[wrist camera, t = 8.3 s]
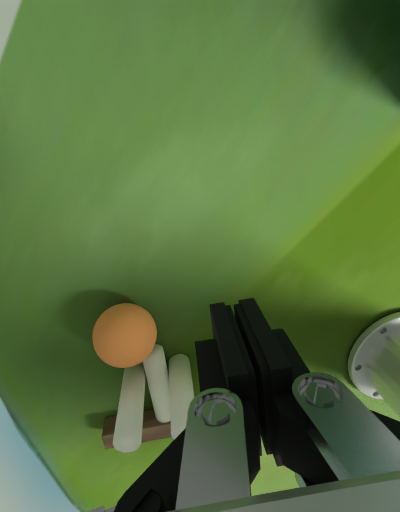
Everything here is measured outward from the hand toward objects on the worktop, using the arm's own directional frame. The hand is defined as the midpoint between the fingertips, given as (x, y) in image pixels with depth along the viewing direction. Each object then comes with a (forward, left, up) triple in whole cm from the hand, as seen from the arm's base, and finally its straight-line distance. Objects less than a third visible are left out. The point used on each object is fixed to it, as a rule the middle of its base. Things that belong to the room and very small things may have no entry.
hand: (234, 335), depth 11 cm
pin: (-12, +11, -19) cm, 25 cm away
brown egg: (-4, +11, -16) cm, 20 cm away
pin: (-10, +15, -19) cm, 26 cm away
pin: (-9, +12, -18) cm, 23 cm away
